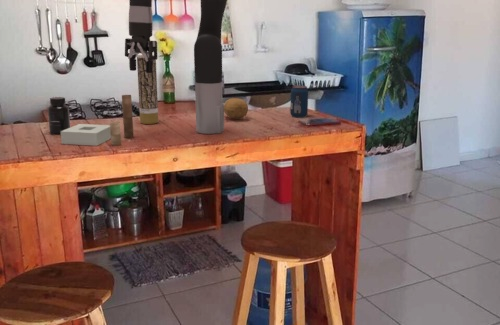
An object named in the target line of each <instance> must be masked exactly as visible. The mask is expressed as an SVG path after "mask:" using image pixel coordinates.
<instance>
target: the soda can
mask: <svg viewBox="0 0 500 325" xmlns="http://www.w3.org/2000/svg"><path fill="white" fill-rule="evenodd" d="M308 110H309V88H308V87H307V86H306V85H292V88H291V90H290V110H289V113H290V115H291V117H292V118H300V119H301V118H306V117H307V115H308Z"/></svg>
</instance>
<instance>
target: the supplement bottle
mask: <svg viewBox="0 0 500 325" xmlns="http://www.w3.org/2000/svg"><path fill="white" fill-rule="evenodd" d="M49 104H50V105H49V106H48V107H47V115H48V116H47V117H48V118H47V119H48V130H49V133H50V134H51V135H61V132H60V131H63V130H65V129H68V128H70V127H71V120H70V108H69V106H68V105H66V98H65V97H63V96H59V97H58V96H55V97H50V98H49Z"/></svg>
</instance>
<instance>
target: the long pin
mask: <svg viewBox="0 0 500 325" xmlns="http://www.w3.org/2000/svg"><path fill="white" fill-rule="evenodd" d="M132 102H133V101H132V95H131V94H122V95H121V103H122V104H121V105H122V106H121V107H122V120H123V136H124V139H133V138H134V137H135V136H134V125H133V124H134V120H133V104H132Z"/></svg>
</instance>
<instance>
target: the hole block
mask: <svg viewBox="0 0 500 325" xmlns="http://www.w3.org/2000/svg"><path fill="white" fill-rule="evenodd" d="M60 132H61V134H60V138H61V145H76V146H77V145H79V146H96V147H97V146H99V145H101V144H103V143H105V142H107V141H109V140H111V133H110V124H88V123H78V124H76V125H73V126H70V128H68V129H65V130H63V131H60Z"/></svg>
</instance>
